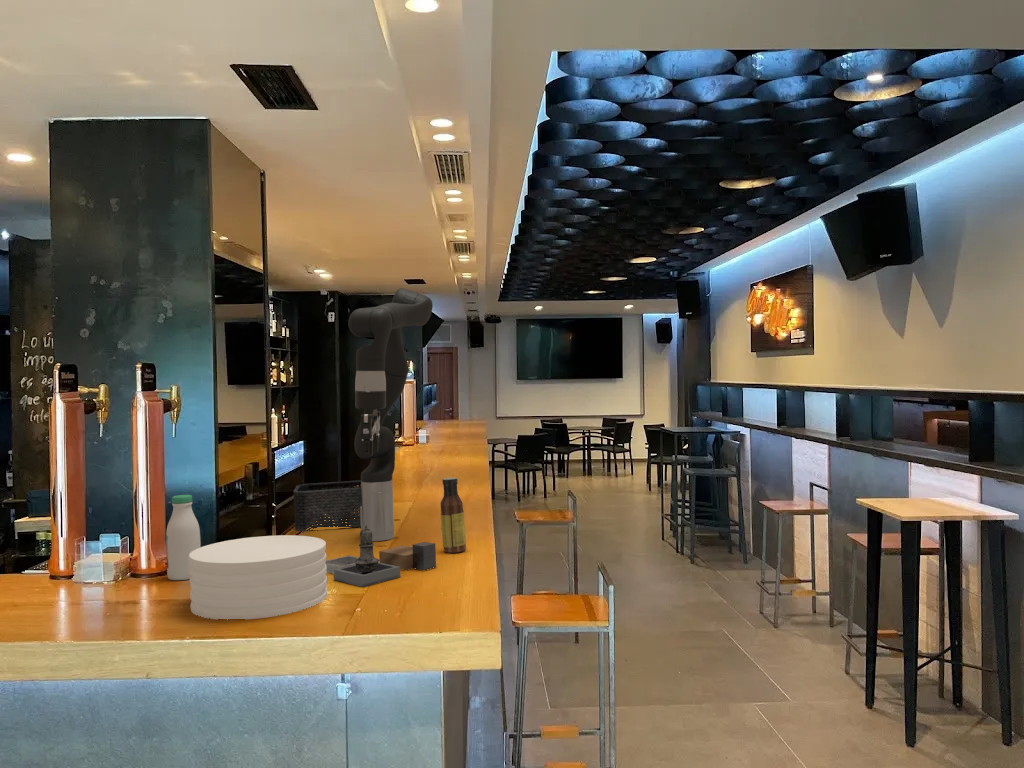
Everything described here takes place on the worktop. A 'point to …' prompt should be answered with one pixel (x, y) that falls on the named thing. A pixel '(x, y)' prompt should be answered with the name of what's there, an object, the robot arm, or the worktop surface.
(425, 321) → the robot arm
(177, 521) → the milk bottle
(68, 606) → the worktop surface
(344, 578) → the tray
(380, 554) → the brown rectangular block
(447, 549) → the sauce bottle
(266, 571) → the plate stack
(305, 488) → the storage bin
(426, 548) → the block
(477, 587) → the worktop surface
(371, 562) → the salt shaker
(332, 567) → the holder
